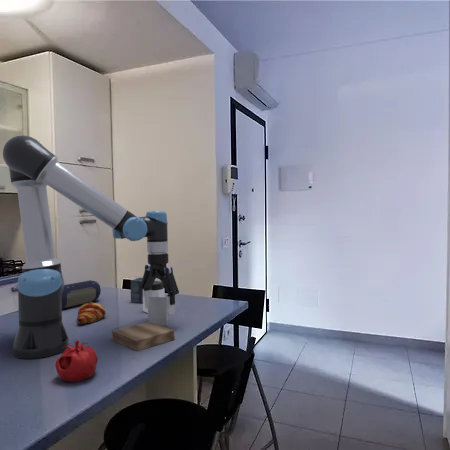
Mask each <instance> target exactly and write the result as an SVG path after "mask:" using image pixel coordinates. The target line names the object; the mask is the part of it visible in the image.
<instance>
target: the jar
mask: <svg viewBox="0 0 450 450" xmlns="http://www.w3.org/2000/svg"><path fill="white" fill-rule="evenodd" d="M144 285H145V284H144ZM150 290H152V297H166V296H165V291H166V289H165V287H164V285H163V283H162V281H160V280H155V281H154V283H153V285H152V287H151V289H150ZM142 311H143V312H144V313H147V314H148V308H145V291H144V289H143V303H142Z"/></svg>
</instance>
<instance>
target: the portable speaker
mask: <svg viewBox="0 0 450 450" xmlns="http://www.w3.org/2000/svg"><path fill="white" fill-rule="evenodd" d="M101 291H102V290H101V285H100V284H99V282H98V281H95V280H90V279H89V280H84V281H79V282H73V283H69V284H64V290H63V292H62V310H64V309H68V308H72V307H76V306H82V305H84V304H87V303H94V302H95V301H97V300H98V299H99V298H100V296H101Z"/></svg>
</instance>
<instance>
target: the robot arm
mask: <svg viewBox="0 0 450 450" xmlns="http://www.w3.org/2000/svg"><path fill="white" fill-rule="evenodd" d="M2 158H3V161H4V163H5V165H6V166H7V167H8V170H9V171H8V172H9V178H10V184H11V185H12V186H13V187H15V188H16V190H17V196H18V197H17V198H18V205H19V214H20V223H21V230H22V237H23V245H24V253H25V263H24V264H23V265H22V267H21V271H22V273H21V274H20V275H19V276H18V279H17V283H16V284H17V285H16V287H17V293H18V294H17V295H18V297H17V298H18V305H17V306H18V328H17V332H16V335H15V338H14V341H13V345H12V356H14V357H15V358H17V359H18V358H19V359H24V360H25V359H26V360H28V359H29V360H30V359H39V358H40V359H41V358H42V359H43V358H47V357H52V356H54V355H57V354H58V355H59V354H60V353H62V352H64V351H65V350H66V349H67V348H69V347H63V346H70V344H69V342H70V341H69V340H70V339H69V336H68V334H67V332H66V329H65V326H64V323H63V312H62V311H63V309H62V292H63V290H64V285H65V280H64V278H63V271H62V264H61V261H59V259H57V258H56V255H55V254H56V253H55V249H54V239H53V232H52V231H53V230H52V223H51V215H50V206H49V198H48V189H47V187H50V188H52V189H53V190H55V191H56V192H58V194H60V195H61V196H63V197H65V198H66V199H67V200H70V202H72V203H74V204H75V205H77V206H78V207H80V208H81V209H83V210H84V211H86V212H87V213H89V214H90V215H92V216H93V217H95V218H96V219H98V220H99V221H101V222H102V223H103V224H105V225H106V226H108V227H110V228H111V229H112V230H111V231H112V237H113V238H114V239H120V240H123V239H127V240H128V241H130V242H138V241H140V240H142V239H144V238H146V252H147V264H145V265H144V272H143V277H142V278H143V279H142V283H141V288H143V289H144V291H145V308H148V306H149V297H152V290H150V289H151V287H152V285H153V283H154V281H156V279H158V280H159V281H162V283H163V285H164V286H163V288H164V289H165V291H166V292H167V295H166V297H167V314H169V315H172V314H175V313H176V312H175V311H176V310H175V308H176V307H175V305H176V295H179V294H180V291H179V288H178V284H177V281H176V278H175V276H174V270H173V267H172V266H169V267H167V264H169V253H168V252H169V244H168V243H169V241H168V239H169V238H168V237H169V236H168V231H169V230H168V217H167V212H166V211H164V210H154V211H153V210H148V211H146V213H145V216H136V215H135V214H133V213H132V212H131V211H129V210H128V209H127V208H125V207H124V206H122V205H121V204H119V202H116V201H115V200H113V198H111V197H109V196H108V195H107V194H105V193H103V192H102V191H101V190H99V189H98V188H96V187H95V186H94V185H92V184H91V183H90V182H88V181H86V180H85V179H84V178H82V176H79V175H78V174H76V173H75V172H74V171H72V170H71V169H69V168H68V167H67V166H65V165H64V164H62V163H60V162H59V159H58V156H57V155H55V154H54V153H52V151H50V150H49V149H47V148H46V147H45V146H44V145H43V144H42V143H40V141H38V140H37V139H36V138H34V137H32V136H29V135H16V136H13V137H11V138H9V139H8V140H7V142H5V144H4V146H3V150H2ZM144 284H145V285H144Z"/></svg>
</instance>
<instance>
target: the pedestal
mask: <svg viewBox="0 0 450 450" xmlns="http://www.w3.org/2000/svg"><path fill="white" fill-rule="evenodd" d="M174 340H175V329H171V328H168V327H166V326H160V325H157V324H154V323H151V322H148V321H147V322H144V323H140V324H139V323H138V324H135V325H132V326H126V327H123V328H119V329H115V330H112V341H113V342H116V343H117V344H120V345H122V346H124V347H126V348H129V349H131V350H133V351H136V352H138V351H141V350H145V349H149V348H152V347H154V346H157V345H161V344H164V343H168V342H171V341H174Z"/></svg>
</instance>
